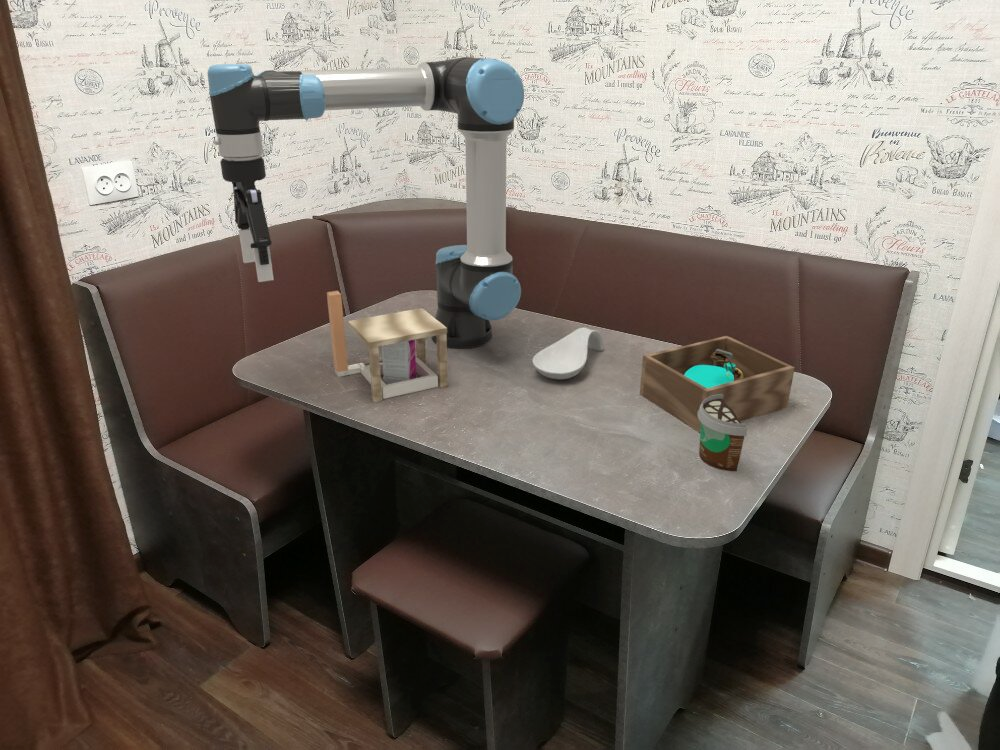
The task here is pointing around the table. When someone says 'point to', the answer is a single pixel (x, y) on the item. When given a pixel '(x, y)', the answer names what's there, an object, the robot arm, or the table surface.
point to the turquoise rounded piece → (715, 371)
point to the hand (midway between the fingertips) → (258, 271)
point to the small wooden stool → (401, 340)
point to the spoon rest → (568, 354)
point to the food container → (720, 434)
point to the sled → (343, 369)
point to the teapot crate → (746, 397)
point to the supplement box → (399, 362)
